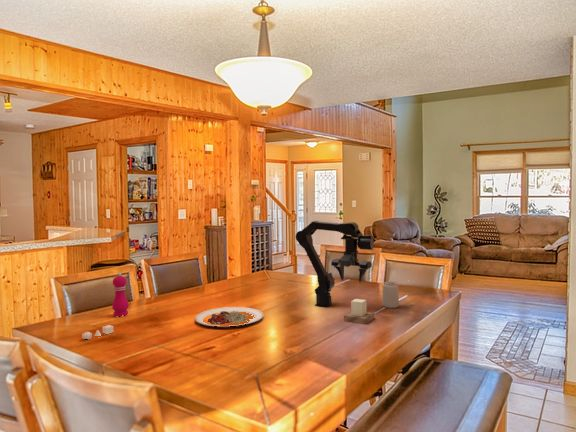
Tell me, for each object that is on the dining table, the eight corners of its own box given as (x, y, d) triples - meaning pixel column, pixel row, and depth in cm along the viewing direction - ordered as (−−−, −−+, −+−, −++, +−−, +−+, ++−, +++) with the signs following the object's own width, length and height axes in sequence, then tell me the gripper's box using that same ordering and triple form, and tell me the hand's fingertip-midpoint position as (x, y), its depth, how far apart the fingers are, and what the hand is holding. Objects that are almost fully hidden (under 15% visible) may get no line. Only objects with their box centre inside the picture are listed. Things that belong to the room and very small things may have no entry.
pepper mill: (132, 314, 212) (130, 271, 210) (120, 318, 205) (119, 274, 204) (120, 312, 215) (119, 271, 214) (109, 316, 208) (107, 273, 207)
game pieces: (109, 332, 185) (109, 324, 185) (113, 333, 183) (113, 326, 183) (80, 340, 176) (80, 332, 176) (85, 342, 174) (84, 333, 174)
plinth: (344, 322, 195) (343, 315, 195) (353, 316, 203) (353, 310, 203) (365, 325, 189) (365, 318, 189) (374, 319, 198) (374, 312, 198)
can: (399, 309, 212) (398, 284, 212) (382, 308, 214) (382, 283, 213) (398, 305, 220) (398, 280, 219) (382, 304, 221) (382, 280, 221)
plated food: (271, 312, 211) (271, 305, 211) (249, 332, 182) (249, 324, 182) (213, 309, 219) (212, 302, 219) (182, 327, 190) (182, 319, 190)
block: (351, 314, 195) (351, 301, 195) (355, 312, 200) (355, 298, 199) (362, 316, 193) (362, 302, 192) (366, 313, 197) (366, 300, 197)
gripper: (325, 249, 212) (325, 282, 213) (362, 252, 202) (362, 286, 203) (336, 246, 222) (336, 278, 223) (372, 249, 212) (372, 282, 213)
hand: (351, 281), depth 215 cm, fingers open, 9 cm apart
